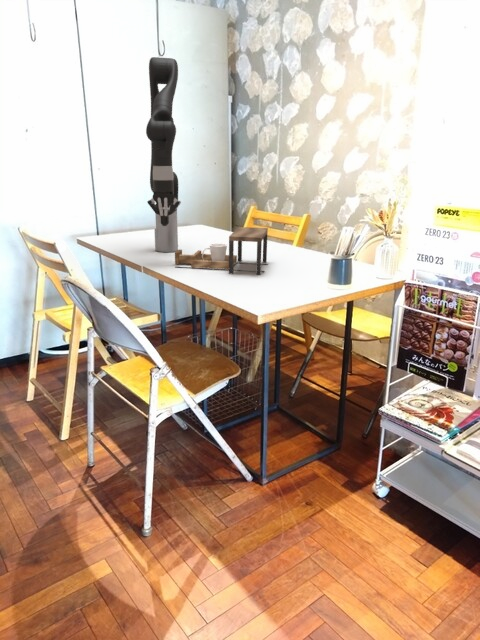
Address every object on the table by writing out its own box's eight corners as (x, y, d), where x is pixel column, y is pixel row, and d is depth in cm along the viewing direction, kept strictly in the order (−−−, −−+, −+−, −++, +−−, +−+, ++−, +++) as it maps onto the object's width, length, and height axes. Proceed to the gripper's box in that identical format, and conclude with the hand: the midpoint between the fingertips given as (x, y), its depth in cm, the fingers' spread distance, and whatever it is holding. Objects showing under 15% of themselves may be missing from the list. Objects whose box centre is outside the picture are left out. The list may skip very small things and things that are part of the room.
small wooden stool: (228, 273, 182) (229, 236, 177) (238, 260, 202) (238, 226, 198) (260, 275, 180) (261, 237, 176) (266, 261, 201) (267, 228, 196)
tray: (172, 266, 189) (172, 254, 187) (181, 258, 201) (181, 247, 199) (231, 269, 186) (231, 257, 184) (236, 261, 198) (236, 250, 196)
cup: (229, 266, 191) (229, 246, 189) (204, 268, 188) (204, 247, 186) (224, 262, 198) (224, 242, 195) (199, 264, 195) (199, 243, 192)
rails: (175, 267, 189) (174, 267, 189) (183, 260, 201) (183, 259, 201) (264, 272, 184) (264, 271, 184) (267, 264, 196) (267, 264, 196)
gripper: (142, 179, 182) (145, 226, 188) (177, 179, 181) (179, 227, 186) (149, 177, 190) (151, 223, 195) (183, 178, 188) (184, 224, 193)
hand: (165, 225), depth 191 cm, fingers closed
